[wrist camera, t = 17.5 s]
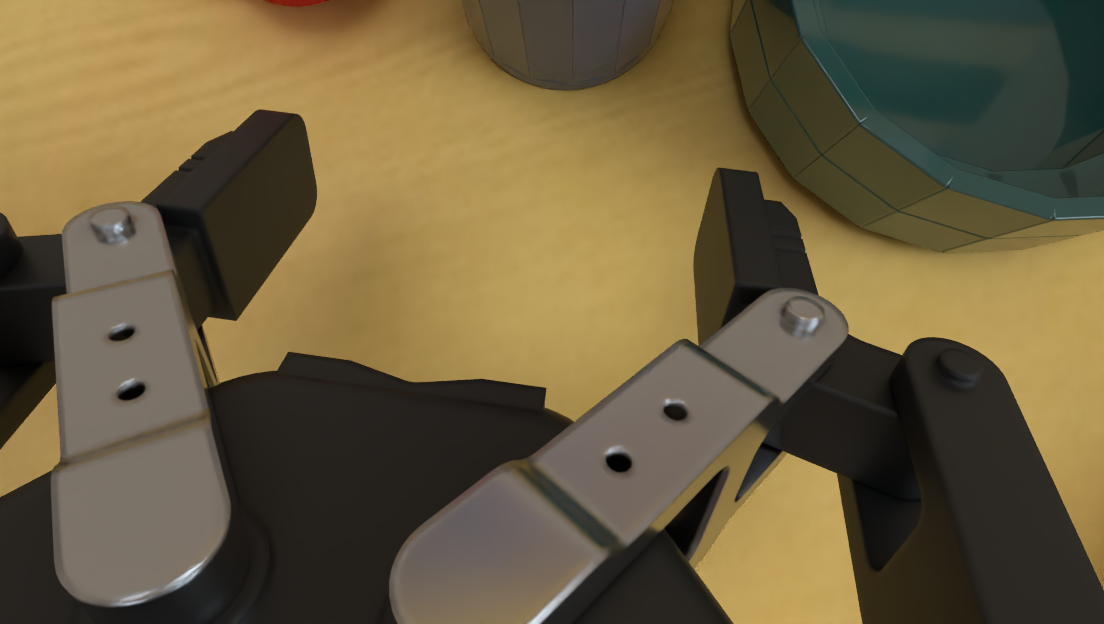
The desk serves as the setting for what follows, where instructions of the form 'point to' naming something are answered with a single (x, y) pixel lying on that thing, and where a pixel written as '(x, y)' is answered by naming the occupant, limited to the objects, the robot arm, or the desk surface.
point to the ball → (296, 2)
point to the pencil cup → (566, 37)
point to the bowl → (935, 113)
